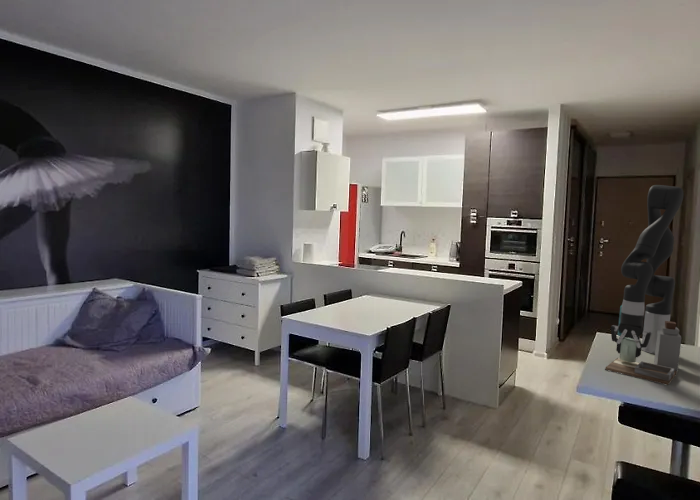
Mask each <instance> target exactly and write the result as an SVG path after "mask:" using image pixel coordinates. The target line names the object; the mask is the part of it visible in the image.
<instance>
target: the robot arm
mask: <svg viewBox="0 0 700 500" xmlns="http://www.w3.org/2000/svg"><path fill="white" fill-rule="evenodd" d="M683 199H684V189H683V188H681V187H680V186H672V185H663V184H662V185H661V184H654V185H652V186H651V187H649V190H648V193H647V201H646V202H647V204H646V205H647V206H646V207H647V221H648V222H647V227H646V228H645V229H644V230H643V231H642V232H641V233H640V235H639V236H638V239H637V241H636V244H635V247H634V248H633V249H632V251H631V252H630V253H629V255H628V256H627V257H626V258H625V260H624V261H623V262H622V265H621V268H620V271H621V272H620V273H621V275H622V276H623V277H625V278H626V279H633V280H636V283H635V284H627V285H626V286H625V287H624V290H623V299H622V303H621V305H622V308H621V320H620V325H619V324H618V325H619V326H618V325H615V324H613V325H611V326H610V335H611V341H612V342H615V343H616V349H615V350H616V352H617V354H620V348H621V340H622V339H624V338H631V339H634V341H635V342H636V345H637V348H636V356H635V357H636V358H639V357H640V356H641V355H642V351H643V352H647V353H650V354H654V355H655V350H656V341H657V332H658V330H659V331H661V326H665V321H670V322H671V313H672V302H673V296H674V291H675V284H676V281H675V278H674V277H672V276H666V275H665V276H664V275H657V274H655V273H656V271H657V270H658V269H659V268H660V266H661V265H662V264H664V263H665V262H666V261H667V260H668V259H669V258H670V257H671V255H672V254H673V252H674V242H675V241H674V240H675V237H674V234H673V232H672V231H671V229H670V227H669V226H670V224H671V223H672V221H673V219H674V218H675V216H676V214H677V213H678V211H679V210H680V208H681V205H682V203H683ZM661 210H664V212H663V213H662V212H661ZM643 260H646V261H643ZM646 295H647V296H649V297H657V298H663V299H662V300H661V301H658V302H654V303H648V304H646V305H645V300H646ZM618 329H619V330H620V332H621V333H622V334H621V336H618V335H617V332H618ZM641 335H642V337H641V338H642V339H641V338H640V336H641Z"/></svg>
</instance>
